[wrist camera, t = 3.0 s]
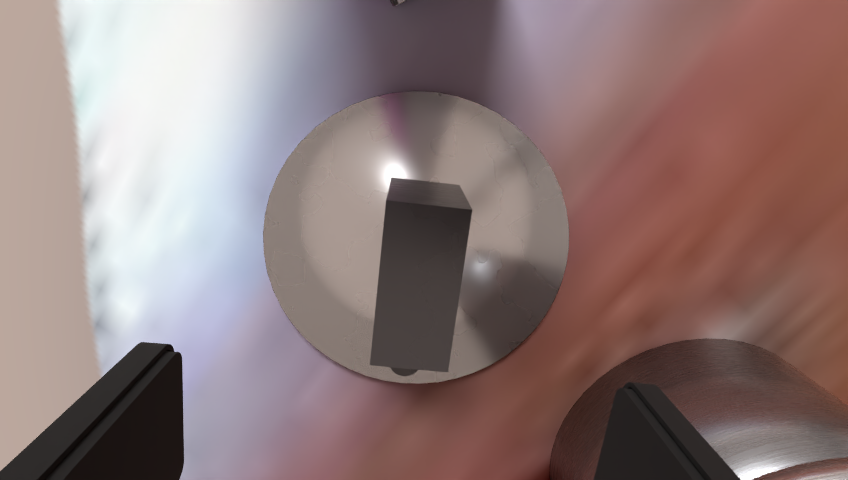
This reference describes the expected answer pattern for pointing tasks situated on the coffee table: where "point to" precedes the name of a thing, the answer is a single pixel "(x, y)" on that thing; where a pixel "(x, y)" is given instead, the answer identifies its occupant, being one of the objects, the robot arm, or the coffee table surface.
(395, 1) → the candy bar box
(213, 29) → the coffee table surface
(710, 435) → the cooker pot
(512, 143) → the steel lid
